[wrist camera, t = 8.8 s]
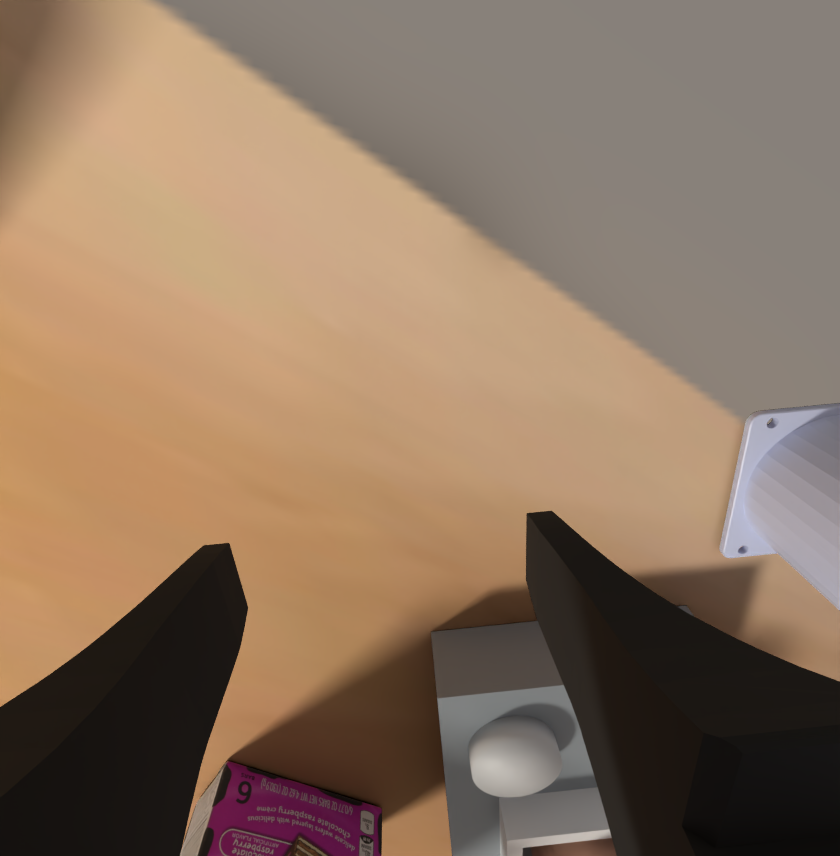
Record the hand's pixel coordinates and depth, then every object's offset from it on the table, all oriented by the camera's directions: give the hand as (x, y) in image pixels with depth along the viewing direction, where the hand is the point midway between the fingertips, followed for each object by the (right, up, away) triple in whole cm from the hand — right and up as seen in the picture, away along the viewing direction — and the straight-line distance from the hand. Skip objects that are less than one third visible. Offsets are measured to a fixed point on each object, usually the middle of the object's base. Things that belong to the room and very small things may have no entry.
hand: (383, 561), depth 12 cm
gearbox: (+9, -16, +19) cm, 27 cm away
